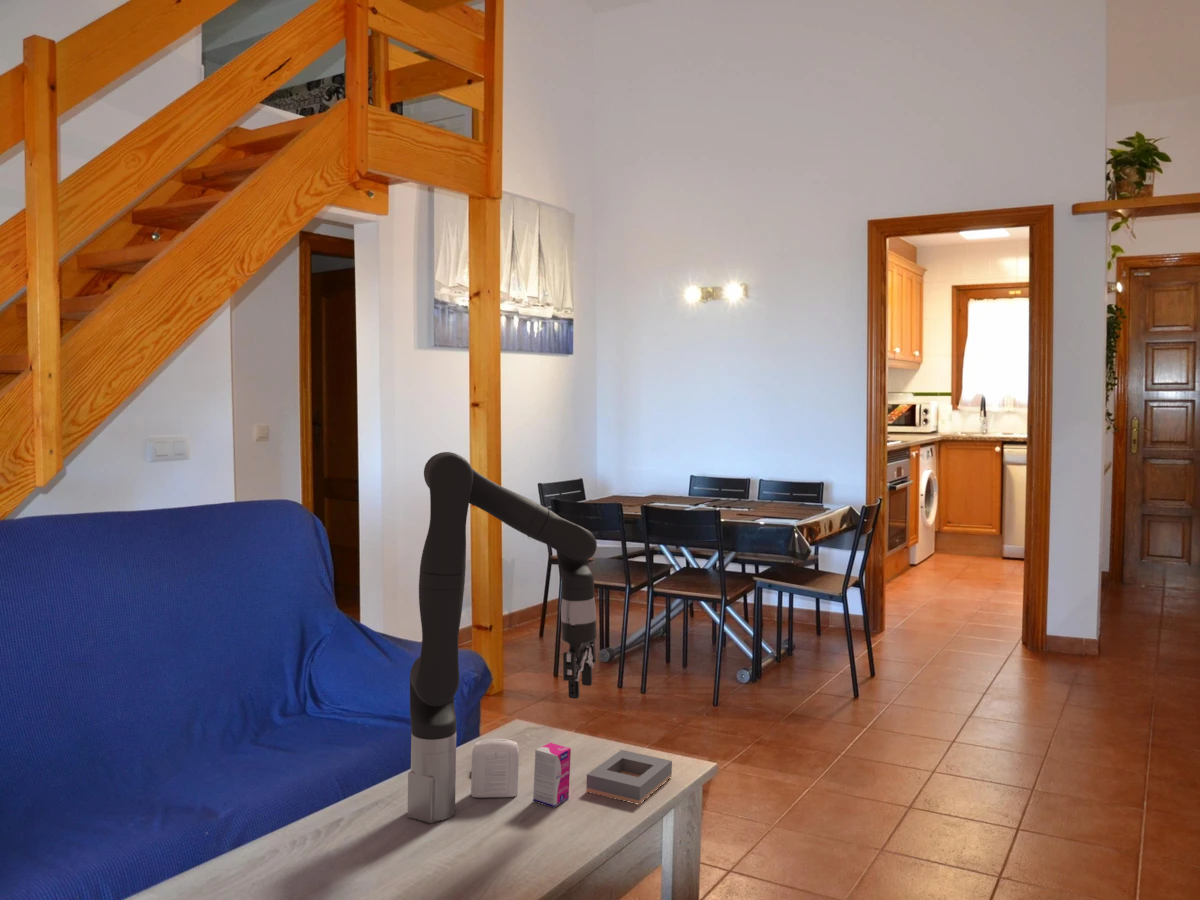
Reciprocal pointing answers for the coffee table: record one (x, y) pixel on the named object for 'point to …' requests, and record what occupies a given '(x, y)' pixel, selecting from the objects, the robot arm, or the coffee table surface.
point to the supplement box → (551, 774)
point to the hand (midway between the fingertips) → (580, 691)
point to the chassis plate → (629, 776)
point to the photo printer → (495, 768)
